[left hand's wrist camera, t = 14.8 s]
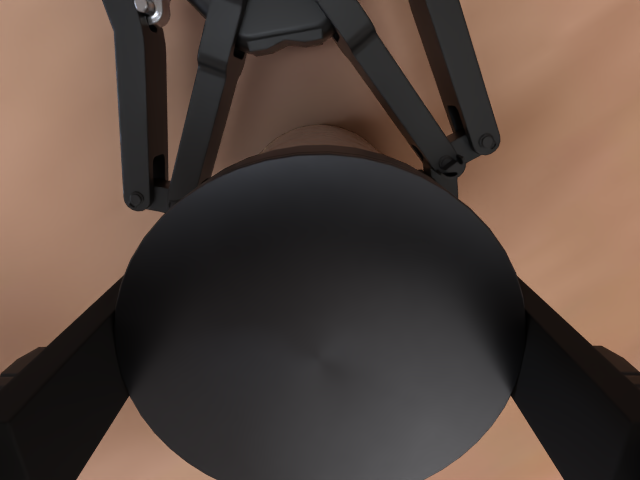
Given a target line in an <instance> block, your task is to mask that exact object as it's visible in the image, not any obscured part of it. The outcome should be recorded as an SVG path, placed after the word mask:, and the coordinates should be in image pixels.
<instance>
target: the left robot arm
mask: <svg viewBox="0 0 640 480" xmlns="http://www.w3.org/2000/svg"><path fill="white" fill-rule="evenodd" d="M123 277H124V276H123ZM123 277H122V278H120V279H119V280H118V281H117V282H116V283H115V284H114V285H113V286H112V287H111V288H110V289H109V290H107V291H106V292H105V293H104V294H103V295H102V296H101V297H100V298H99V299H98V300H97V301H96V302H95V303H93V304H92V305H91V306H90V307H89V308H88V309H87V310H86V311H85V312H84V313H83V314H82V315H80V316H79V317H78V318H77V319H76V320H75V321H74V322H73V323H72V324H71V325H70V326H69V327H68V328H66V329H65V330H64V331H63V332H62V333H61V334H60V335H59V336H58V337H57V338H56V339H55V340H53V341H52V342H51V343H50V344H49V345H48V346H47V347H38V348H37V349H35V350H33V351H31V352H29V353H28V354H26V355H24V356H22V357H21V358H19V359H17V360H16V361H15V362H14V363H12V364H11V365H10V366H9V367H8V368H7V369H6V370H5V371H3V372H2V373H1V374H0V480H76V479H77V478H78V476H79V474H80V473H81V471H82V470H83V468H84V467H85V465H86V463H87V462H88V460H89V459H90V457H91V455H92V454H93V452H94V451H95V449H96V448H97V446H98V444H99V443H100V441H101V440H102V438H103V436H104V435H105V433H106V432H107V430H108V429H109V427H110V425H111V424H112V422H113V421H114V419H115V417H116V416H117V414H118V413H119V411H120V410H121V408H122V406H123V405H124V403H125V402H126V400H127V398H128V397H129V393H128V391H127V388H126V386H125V383H124V381H123V378H122V376H121V372H120V368H119V364H118V360H117V355H116V349H115V338H114V321H115V307H116V302H117V298H118V294H119V289H120V285H121V282H122V279H123ZM517 278H518V281H519V285H520V288H521V291H522V294H523V299H524V307H525V314H526V346H525V351H524V356H523V361H522V366H521V370H520V373H519V376H518V379H517V382H516V385H515V388H514V390H513V392H512V394H511V397H512V398H513V400H514V401H515V403H516V404H517V406H518V408H519V409H520V411H521V412H522V414H523V416H524V417H525V419H526V420H527V422H528V423H529V425H530V427H531V428H532V430H533V431H534V433H535V435H536V436H537V438H538V439H539V441H540V442H541V444H542V446H543V447H544V449H545V450H546V452H547V454H548V455H549V457H550V458H551V460H552V461H553V463H554V465H555V466H556V468H557V469H558V471H559V473H560V474H561V476H562V477H563V479H564V480H640V372H639V371H638V370H637V369H636V368H634V367H633V366H632V365H631V364H630V363H629V362H628V361H626V360H625V359H624V358H623V357H621V356H619V355H617V354H615V353H614V352H612V351H610V350H608V349H606V348H605V347H603V346H592V345H591V344H590V343H589V342H588V341H587V340H586V339H585V338H584V337H582V336H581V335H580V334H579V333H578V332H577V331H576V330H575V329H574V328H573V327H572V326H571V325H569V324H568V323H567V322H566V321H565V320H564V319H563V318H562V317H561V316H560V315H559V314H558V313H557V312H555V311H554V310H553V309H552V308H551V307H550V306H549V305H548V304H547V303H546V302H545V301H544V300H542V299H541V298H540V297H539V296H538V295H537V294H536V293H535V292H534V291H533V290H532V289H531V288H530V287H528V286H527V285H526V284H525V283H524V282H523V281H522V280H521V279H520V278H519V277H518V276H517Z"/></svg>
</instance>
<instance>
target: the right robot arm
mask: <svg viewBox="0 0 640 480" xmlns="http://www.w3.org/2000/svg"><path fill="white" fill-rule="evenodd" d="M102 1H103V4H104V7H105V9H106V12H107V15H108V17H109V20H110V23H111V25H112V28H113V31H114V42H115V59H116V76H117V93H118V110H119V127H120V144H121V161H122V178H123V195H124V201H125V203H126V205H127V206H128V207H129V208H131V209H132V210H135V211H143V210H145V209H148V210H154V211H159V212H163V213H166V212H167V211H168V210H170V209H171V208H172V207H173V206H174V205H175V204H176V203H178V202H179V201H180V200H181V199H182V198H183V197H185V196H186V195H187V194H189V193H190V192H191V191H193V190H194V189H195V188H197V187H198V186H199V185H200V184H202V183H203V182H205V181H206V180H208V179H209V178H211V175H212V171H213V168H214V164H215V160H216V157H217V153H218V149H219V146H220V142H221V138H222V135H223V131H224V128H225V124H226V120H227V117H228V113H229V109H230V106H231V102H232V99H233V95H234V91H235V88H236V84H237V81H238V78H239V76H240V75H241V72H242V70H243V66H244V63H245V59H246V56H247V53H248V54H253V55H255V56H261V55H267V54H272V53H275V52H276V51H278V50H280V49H282V48H284V47H286V46H299V47H311V46H317V45H322V44H323V42H324V41H326V40H328V39H329V38H330V37H332V38H333V40H334V41H335V42H336V44H337V45H338V47H339V48H340V49H341V51H342V52H343V53H344V55H345V56H346V57H347V58H348V59H349V60H350V62H351V63H352V64H353V66H354V67H355V69H356V70H357V71H358V73H359V74H360V76H361V77H362V78H363V80H364V81H365V83H366V84H367V85H368V87H369V88H370V90H371V91H372V92H373V94H374V95H375V97H376V98H377V99H378V101H379V102H380V104H381V105H382V106H383V108H384V109H385V111H386V112H387V114H388V115H389V116H390V118H391V119H392V121H393V122H394V123H395V125H396V126H397V128H398V129H399V130H400V132H401V133H402V135H403V136H404V137H405V139H406V140H407V142H408V143H409V144H410V146H411V147H412V149H413V150H414V151H415V153H416V154H417V156H418V157H419V158H420V160H421V161H422V163H423V169H424V171H423V170H422V169H421V170H418V171H420V172H422V173H424V174H425V175H427V176H429V177H430V178H432V179H433V180H434V181H435V182H437V183H438V184H439V185H441V186H442V187H443V188H445V189H446V190H447V191H449V192H450V193H451V194H453V195H454V196H455V197H456V198H458V185H457V177H459V176H460V175H461V174H462V173H463V172H464V170H465V167H466V163H467V162H469V161H471V160H473V159H475V158H477V157H478V156H480V155H488V154H491V153H493V152H494V151H495V150H496V149H497V148H498V146H499V144H500V134H499V131H498V128H497V124H496V121H495V118H494V114H493V111H492V108H491V104H490V101H489V98H488V94H487V91H486V88H485V84H484V81H483V78H482V75H481V71H480V68H479V65H478V61H477V58H476V55H475V51H474V48H473V45H472V41H471V38H470V35H469V31H468V28H467V25H466V21H465V18H464V15H463V12H462V8H461V5H460V2H459V0H409V4H410V7H411V11H412V14H413V17H414V20H415V23H416V25H417V28H418V31H419V34H420V37H421V40H422V43H423V46H424V49H425V52H426V55H427V58H428V61H429V64H430V67H431V69H432V72H433V75H434V78H435V81H436V84H437V87H438V90H439V93H440V96H441V99H442V102H443V105H444V108H445V111H446V113H447V116H448V119H449V122H450V125H451V128H452V131H453V133H452V134H450V135H449V136H447V137H446V136H445V134H444V133H443V131H442V130H441V128H440V127H439V125H438V124H437V122H436V121H435V119H434V118H433V116H432V115H431V113H430V112H429V111H428V109H427V108H426V106H425V105H424V103H423V102H422V100H421V99H420V97H419V96H418V94H417V93H416V91H415V90H414V88H413V87H412V85H411V84H410V82H409V81H408V79H407V78H406V76H405V75H404V74H403V72H402V71H401V69H400V68H399V66H398V65H397V63H396V62H395V60H394V59H393V57H392V56H391V54H390V53H389V51H388V50H387V48H386V47H385V45H384V44H383V42H382V41H381V39H380V38H379V36H378V35H377V33H376V30H375V28H374V26H373V24H372V22H371V20H370V19H369V17H368V16H367V14H366V13H365V11H364V10H363V8H362V7H361V5H360V4H359V2H358V1H357V0H187V1H188V2H189V3H190V4H191V5H192V6H193V7H194V8H195V9H196V10H197V11H198V12H199V13H200V14H201V15H202V16H203V17H204V18H205V19H206V21H205V25H204V29H203V34H202V38H201V42H200V46H199V51H198V59H197V60H198V70H197V75H196V79H195V83H194V87H193V91H192V95H191V100H190V104H189V108H188V112H187V116H186V120H185V124H184V129H183V133H182V137H181V141H180V145H179V149H178V153H177V158H176V162H175V166H174V170H173V174H172V178H171V181H168V129H167V74H166V46H165V39H164V33H163V29H162V27H163V26H165V25H166V24H167V23H168V21H169V20H170V1H171V0H102Z"/></svg>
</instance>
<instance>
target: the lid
mask: <svg viewBox="0 0 640 480" xmlns="http://www.w3.org/2000/svg"><path fill="white" fill-rule="evenodd" d="M114 338H115V349H116V355H117V360H118V364H119V368H120V372H121V376H122V378H123V381H124V383H125V386H126V388H127V391H128V393H129V396H130V397H131V399H132V401H133V403H134V404H135V406H136V408H137V410H138V411H139V413H140V415H141V416H142V417H143V419H144V420H145V421H146V423H147V424H148V425H149V427H150V428H151V429H152V430H153V432H154V433H155V434H156V435H157V436H158V437H159V438H160V439H161V440H162V441H163V442H164V443H165V444H166V445H167V446H168V447H169V448H170V449H171V450H172V451H174V452H175V453H176V454H177V455H179V456H180V457H181V458H182V459H184V460H185V461H186V462H187V463H189V464H190V465H192V466H194V467H195V468H197V469H198V470H200V471H202V472H203V473H205V474H206V475H208V476H210V477H212V478H214V479H216V480H424V479H426V478H428V477H430V476H432V475H433V474H435V473H437V472H439V471H441V470H442V469H444V468H445V467H447V466H448V465H450V464H451V463H453V462H454V461H455V460H457V459H458V458H460V457H461V456H462V455H463V454H464V453H466V452H467V451H468V450H469V449H470V448H471V447H472V446H473V445H475V444H476V443H477V442H478V441H479V440H480V439H481V437H482V436H483V435H484V434H485V433H486V432H487V431H488V430H489V428H490V427H491V426H492V425H493V423H494V422H495V421H496V419H497V418H498V416H499V415H500V413H501V412H502V410H503V409H504V407H505V405H506V404H507V402H508V400H509V398H510V396H511V394H512V392H513V390H514V388H515V385H516V382H517V379H518V376H519V373H520V370H521V366H522V361H523V356H524V351H525V346H526V314H525V307H524V299H523V294H522V291H521V288H520V285H519V281H518V278H517V275H516V272H515V270H514V268H513V266H512V264H511V262H510V260H509V258H508V256H507V253H506V251H505V250H504V248H503V247H502V245H501V244H500V242H499V241H498V240H497V238H496V237H495V235H494V234H493V232H492V231H491V230H490V228H489V227H488V226H487V225H486V224H485V223H484V222H483V221H482V220H481V219H480V218H479V217H478V216H477V215H476V214H475V213H474V212H473V210H472V209H471V208H469V207H468V206H467V205H465V204H464V203H463V202H462V201H460V200H459V199H458V198H456V197H455V196H454V195H453V194H451V193H450V192H449V191H447V190H446V189H445V188H443V187H442V186H441V185H439V184H438V183H437V182H435V181H434V180H433V179H432V178H430V177H429V176H427V175H425V174H424V173H422V172H420V171H418V170H417V169H415V168H413V167H411V166H409V165H408V164H406V163H403V162H401V161H398V160H396V159H393V158H391V157H388V156H386V155H383V154H380V153H376V152H372V151H368V150H363V149H359V148H355V147H346V146H336V145H300V146H294V147H288V148H282V149H276V150H272V151H268V152H265V153H262V154H259V155H255V156H252V157H249V158H246V159H244V160H242V161H240V162H238V163H236V164H234V165H231V166H229V167H227V168H225V169H223V170H222V171H220V172H219V173H217V174H215V175H214V176H212V177H211V178H209V179H208V180H206V181H205V182H203V183H202V184H200V185H199V186H198V187H197V188H195V189H194V190H193V191H191V192H190V193H189V194H187V195H186V196H185V197H183V198H182V199H181V200H180V201H179V202H178V203H176V204H175V205H174V206H173V207H172V208H171V209H170V210H168V211H167V212H166V213H165V214H164V215H163V216H162V217H161V218H160V219H159V220H158V221H157V223H156V224H155V225H154V226H153V227H152V228H151V230H150V231H149V232H148V233H147V234H146V236H145V237H144V238H143V240H142V242H141V243H140V245H139V246H138V248H137V250H136V251H135V253H134V255H133V256H132V258H131V260H130V262H129V264H128V267H127V269H126V272H125V274H124V277H123V279H122V282H121V285H120V289H119V294H118V298H117V302H116V307H115V321H114Z"/></svg>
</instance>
